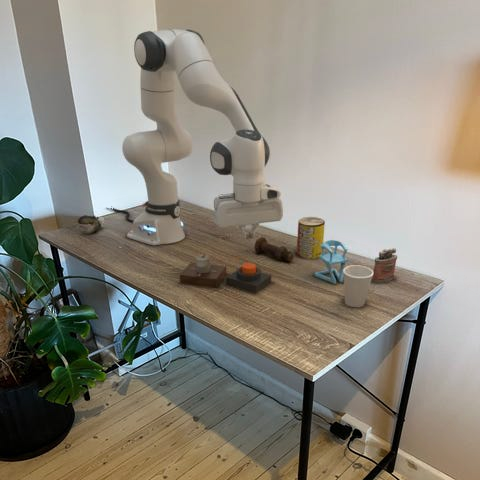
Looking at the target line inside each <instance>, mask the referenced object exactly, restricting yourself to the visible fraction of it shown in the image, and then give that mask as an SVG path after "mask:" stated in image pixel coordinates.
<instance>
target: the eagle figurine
mask: <svg viewBox="0 0 480 480" xmlns="http://www.w3.org/2000/svg"><path fill="white" fill-rule="evenodd" d="M105 220H106V219H105V218H104V217H103V216H96V215H95V214H94V215H92V216H91V215H87V214H84V215H81V216H80V217H79V218H78V219H77V223H78V225H90V226H89V227H88V228H87V229H86V230H84V231H83V235H92V234H93V233H95V232H96V230H98V229H102V228H103V227H102V225H104V224H105Z"/></svg>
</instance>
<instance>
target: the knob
mask: <svg viewBox="0 0 480 480" xmlns="http://www.w3.org/2000/svg"><path fill="white" fill-rule="evenodd" d="M195 263H196V271H197V272H199V273H207V272H209V271H210V265H211V256H209V255H208V254H207V253H203V254H198V255H196V256H195Z"/></svg>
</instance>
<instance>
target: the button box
mask: <svg viewBox="0 0 480 480" xmlns="http://www.w3.org/2000/svg"><path fill="white" fill-rule="evenodd" d="M271 283H272V274H269V273H265V272H262V270H261V268H259V267H258V266H256V273H254V274H244V273H242V266H240V267H239V268H237V270H235V271H234V272H231V273H230V274H229V275H226V276H225V285H226V286H230V287H233V288H236V289H240V290H243V291H246V292H250V293H253V294H257V293H258V292H260V291H261V290H263V289H264V288H266V287H267V286H268V285H270V284H271Z"/></svg>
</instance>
